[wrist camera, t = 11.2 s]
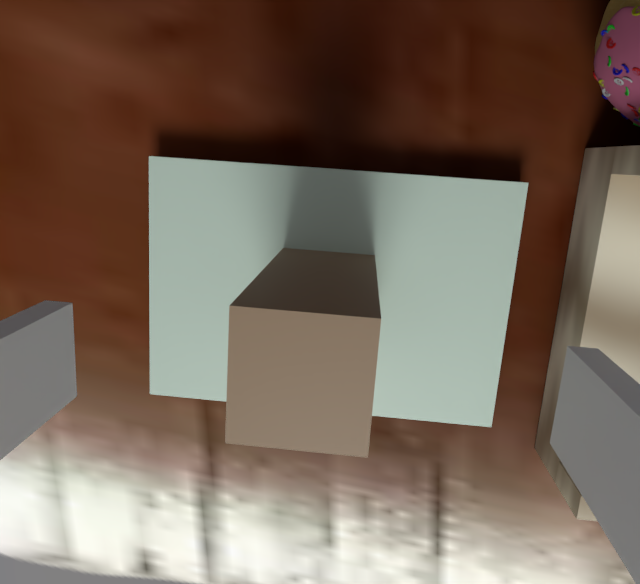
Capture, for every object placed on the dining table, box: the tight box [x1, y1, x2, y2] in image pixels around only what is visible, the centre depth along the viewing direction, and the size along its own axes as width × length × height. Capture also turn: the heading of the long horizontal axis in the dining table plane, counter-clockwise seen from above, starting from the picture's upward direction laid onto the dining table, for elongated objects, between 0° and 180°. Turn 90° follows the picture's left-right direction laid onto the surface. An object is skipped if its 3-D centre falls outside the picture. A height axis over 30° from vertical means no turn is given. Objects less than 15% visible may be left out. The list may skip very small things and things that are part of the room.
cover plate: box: [149, 156, 528, 458], centre depth 21 cm, size 11×16×12 cm
